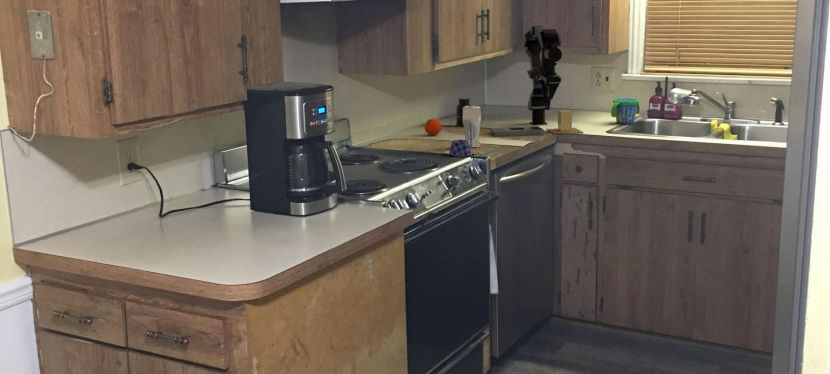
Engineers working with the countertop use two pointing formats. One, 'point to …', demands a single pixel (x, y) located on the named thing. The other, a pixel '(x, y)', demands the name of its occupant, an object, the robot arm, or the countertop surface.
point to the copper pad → (556, 131)
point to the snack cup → (625, 110)
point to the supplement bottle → (461, 110)
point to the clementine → (432, 126)
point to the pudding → (459, 147)
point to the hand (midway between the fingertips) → (547, 98)
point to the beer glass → (472, 124)
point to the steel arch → (517, 131)
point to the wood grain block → (564, 120)
